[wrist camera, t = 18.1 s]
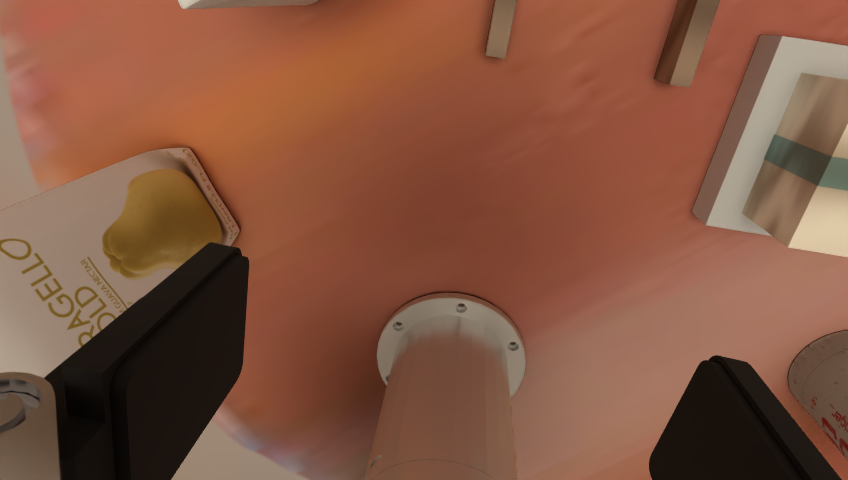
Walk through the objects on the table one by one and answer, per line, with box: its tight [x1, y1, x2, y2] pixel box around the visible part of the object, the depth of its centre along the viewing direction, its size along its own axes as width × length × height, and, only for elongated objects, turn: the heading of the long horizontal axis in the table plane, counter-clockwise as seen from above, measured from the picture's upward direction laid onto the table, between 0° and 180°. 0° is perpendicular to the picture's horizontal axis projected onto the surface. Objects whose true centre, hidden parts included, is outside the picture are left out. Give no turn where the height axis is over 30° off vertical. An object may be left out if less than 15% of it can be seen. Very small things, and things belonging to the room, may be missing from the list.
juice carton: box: [0, 148, 240, 378], centre depth 29 cm, size 9×8×24 cm
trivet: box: [692, 35, 848, 236], centre depth 33 cm, size 12×10×2 cm
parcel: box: [742, 73, 848, 257], centre depth 29 cm, size 9×6×6 cm
